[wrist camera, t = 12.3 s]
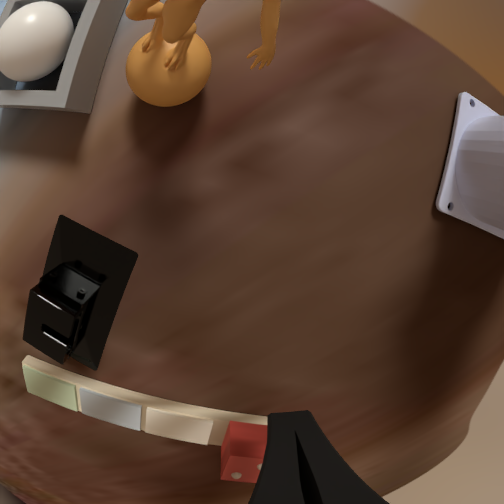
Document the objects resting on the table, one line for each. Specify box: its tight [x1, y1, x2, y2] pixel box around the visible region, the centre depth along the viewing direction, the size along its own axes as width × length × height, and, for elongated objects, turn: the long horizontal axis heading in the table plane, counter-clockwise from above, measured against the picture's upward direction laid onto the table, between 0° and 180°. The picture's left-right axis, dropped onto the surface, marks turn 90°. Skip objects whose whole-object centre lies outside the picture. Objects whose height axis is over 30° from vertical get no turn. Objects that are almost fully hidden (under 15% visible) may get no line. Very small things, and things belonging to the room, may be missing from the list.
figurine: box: [125, 0, 281, 107], centre depth 9 cm, size 8×6×12 cm
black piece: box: [23, 215, 138, 370], centre depth 16 cm, size 12×7×5 cm, turn 151°
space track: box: [22, 355, 267, 483], centre depth 18 cm, size 20×4×4 cm, turn 76°
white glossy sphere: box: [0, 1, 74, 82], centre depth 11 cm, size 5×5×5 cm
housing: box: [0, 0, 128, 114], centre depth 12 cm, size 7×7×3 cm
